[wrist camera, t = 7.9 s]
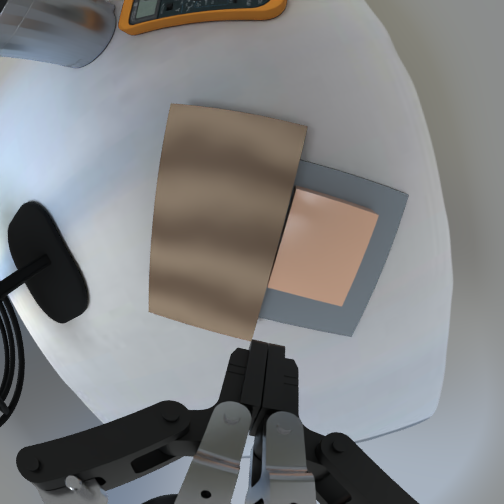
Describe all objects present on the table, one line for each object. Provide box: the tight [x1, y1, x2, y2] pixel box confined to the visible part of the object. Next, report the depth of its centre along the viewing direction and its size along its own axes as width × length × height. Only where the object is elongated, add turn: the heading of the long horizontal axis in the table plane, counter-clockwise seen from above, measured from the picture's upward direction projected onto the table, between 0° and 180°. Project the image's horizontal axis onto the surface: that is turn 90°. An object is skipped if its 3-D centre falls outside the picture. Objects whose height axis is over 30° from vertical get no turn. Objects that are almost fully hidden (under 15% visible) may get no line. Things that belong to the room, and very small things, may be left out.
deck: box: [149, 104, 307, 341], centre depth 26 cm, size 22×12×4 cm, turn 168°
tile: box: [267, 185, 379, 306], centre depth 26 cm, size 10×8×2 cm
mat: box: [258, 160, 409, 337], centre depth 28 cm, size 18×12×1 cm, turn 168°
